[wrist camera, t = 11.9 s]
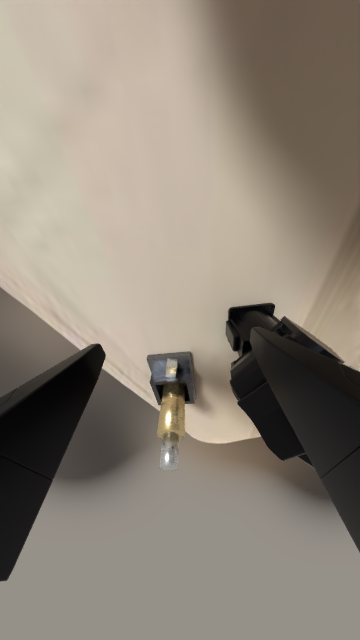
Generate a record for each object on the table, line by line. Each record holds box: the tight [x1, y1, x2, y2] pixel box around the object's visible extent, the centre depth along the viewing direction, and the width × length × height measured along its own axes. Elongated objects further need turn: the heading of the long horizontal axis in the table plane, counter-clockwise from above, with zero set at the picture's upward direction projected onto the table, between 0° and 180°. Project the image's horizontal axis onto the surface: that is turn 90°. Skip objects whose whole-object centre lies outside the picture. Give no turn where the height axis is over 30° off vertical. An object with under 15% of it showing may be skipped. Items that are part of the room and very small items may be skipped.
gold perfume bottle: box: [157, 383, 185, 471], centre depth 24 cm, size 4×4×12 cm
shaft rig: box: [147, 352, 196, 405], centre depth 28 cm, size 8×14×4 cm, turn 8°
